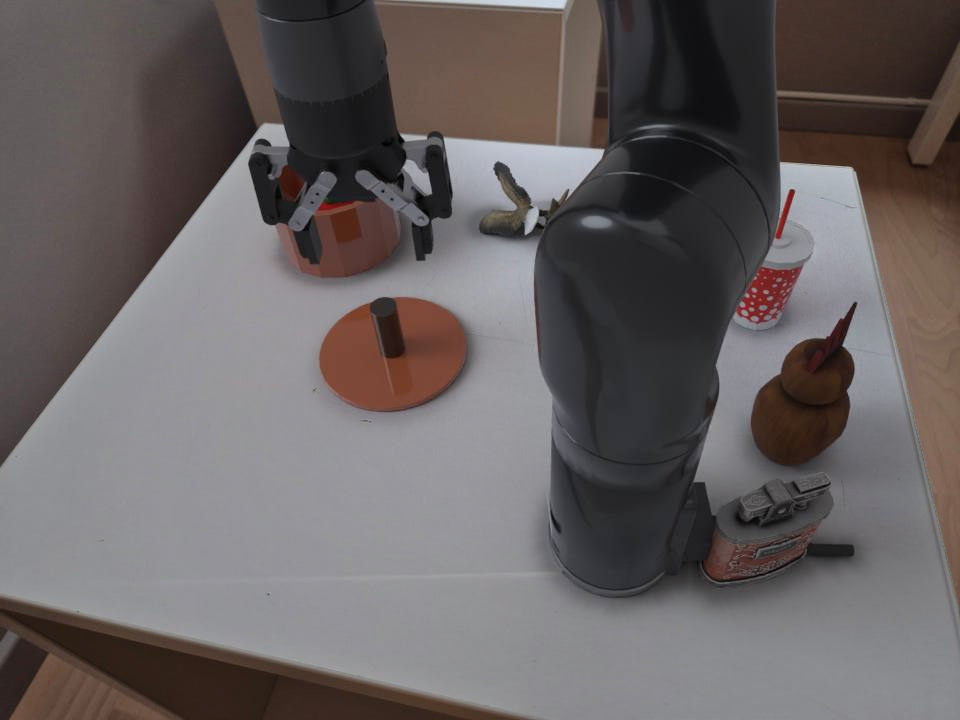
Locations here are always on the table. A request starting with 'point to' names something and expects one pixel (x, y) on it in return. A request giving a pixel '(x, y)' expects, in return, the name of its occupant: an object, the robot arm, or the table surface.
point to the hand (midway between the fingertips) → (369, 256)
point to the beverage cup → (776, 274)
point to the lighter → (766, 531)
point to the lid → (392, 354)
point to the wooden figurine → (806, 399)
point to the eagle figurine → (523, 214)
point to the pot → (342, 234)
